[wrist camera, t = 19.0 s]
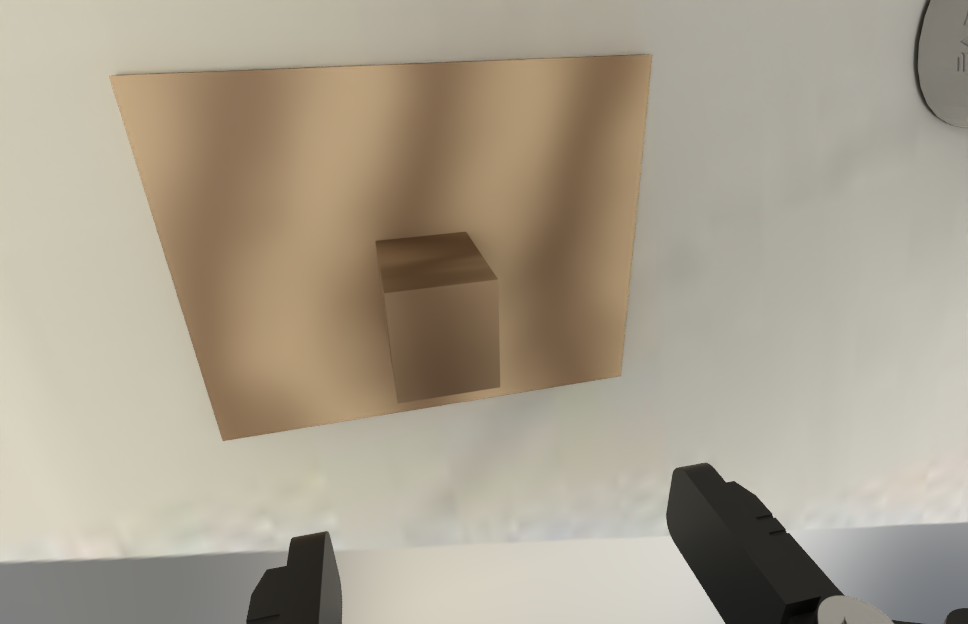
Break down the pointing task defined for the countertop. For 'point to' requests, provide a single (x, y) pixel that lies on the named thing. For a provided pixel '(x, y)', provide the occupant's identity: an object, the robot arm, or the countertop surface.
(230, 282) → the lid
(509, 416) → the countertop surface
